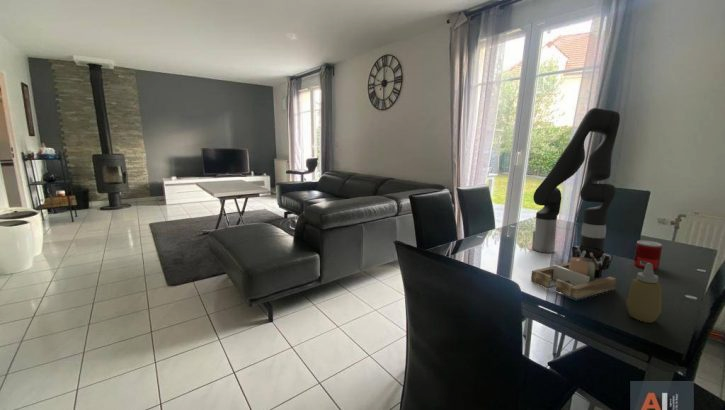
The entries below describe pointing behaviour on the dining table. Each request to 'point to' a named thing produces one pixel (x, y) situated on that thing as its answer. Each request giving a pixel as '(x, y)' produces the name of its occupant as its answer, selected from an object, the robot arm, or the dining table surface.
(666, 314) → the dining table surface
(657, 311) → the squeeze bottle
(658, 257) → the canned food
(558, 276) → the pusher plate
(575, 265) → the terracotta jar
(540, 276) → the lane
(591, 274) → the sage jar
